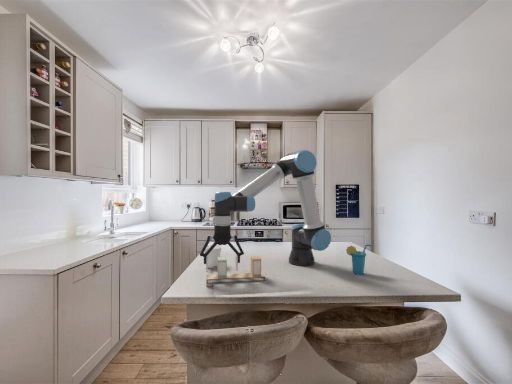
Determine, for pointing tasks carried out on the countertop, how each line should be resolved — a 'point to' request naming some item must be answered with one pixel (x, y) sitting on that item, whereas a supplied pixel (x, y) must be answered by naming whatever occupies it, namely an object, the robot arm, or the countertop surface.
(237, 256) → the robot arm
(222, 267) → the carton
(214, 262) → the cup
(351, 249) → the cup
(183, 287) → the countertop surface
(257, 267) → the faced carton
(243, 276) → the wavy tan tray
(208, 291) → the countertop surface
